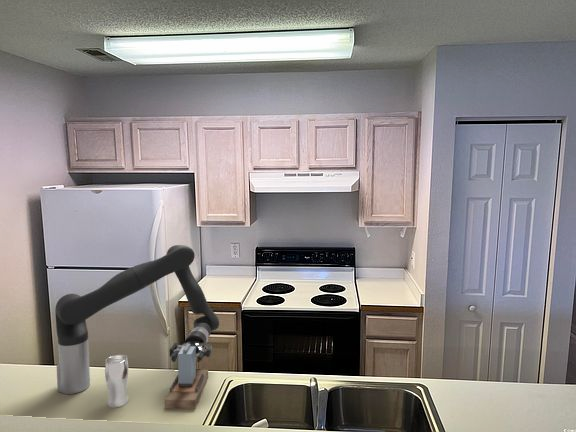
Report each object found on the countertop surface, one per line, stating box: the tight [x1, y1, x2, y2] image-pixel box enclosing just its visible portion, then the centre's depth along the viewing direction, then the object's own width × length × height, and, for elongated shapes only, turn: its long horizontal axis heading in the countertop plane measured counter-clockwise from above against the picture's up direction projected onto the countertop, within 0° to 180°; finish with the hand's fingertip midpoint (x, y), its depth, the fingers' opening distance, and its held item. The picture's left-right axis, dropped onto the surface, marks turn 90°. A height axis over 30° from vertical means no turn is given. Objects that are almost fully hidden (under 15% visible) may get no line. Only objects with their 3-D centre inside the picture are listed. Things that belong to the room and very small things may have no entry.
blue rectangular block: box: [177, 344, 197, 387], centre depth 134 cm, size 4×6×13 cm
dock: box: [164, 369, 209, 410], centre depth 135 cm, size 10×20×4 cm, turn 0°
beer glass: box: [104, 354, 129, 409], centre depth 128 cm, size 7×7×15 cm
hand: (185, 359), depth 132 cm, fingers open, 8 cm apart
